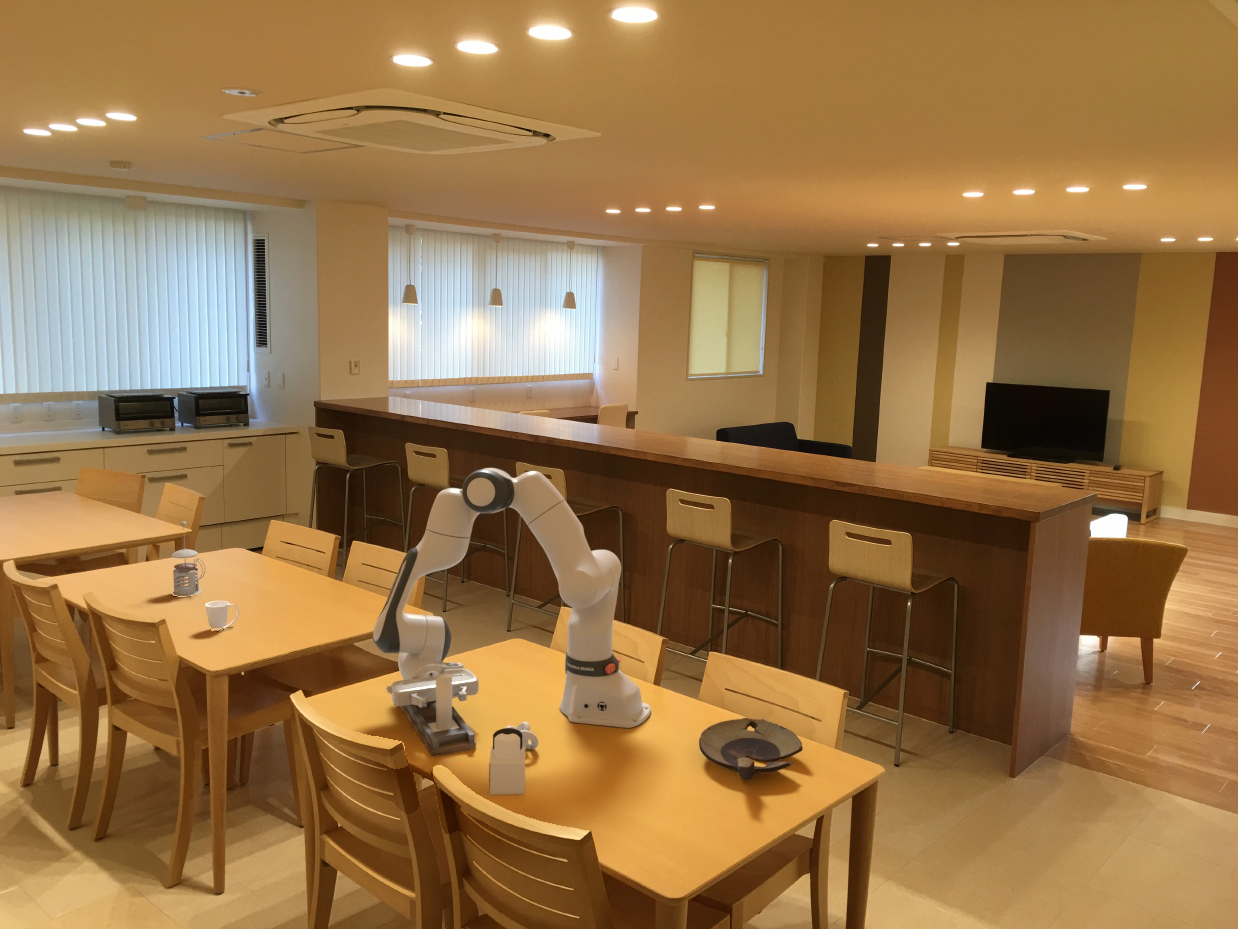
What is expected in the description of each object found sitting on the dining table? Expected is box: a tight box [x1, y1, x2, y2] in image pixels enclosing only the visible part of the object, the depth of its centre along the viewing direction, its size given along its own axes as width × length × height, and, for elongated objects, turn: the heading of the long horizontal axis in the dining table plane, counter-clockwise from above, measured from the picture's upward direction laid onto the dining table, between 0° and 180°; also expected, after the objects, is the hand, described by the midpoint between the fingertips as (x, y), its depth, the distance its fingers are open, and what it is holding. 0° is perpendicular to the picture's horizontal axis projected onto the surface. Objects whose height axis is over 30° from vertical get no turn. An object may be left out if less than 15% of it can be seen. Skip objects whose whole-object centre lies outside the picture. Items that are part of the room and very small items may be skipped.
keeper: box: [428, 674, 459, 732], centre depth 220 cm, size 6×6×13 cm
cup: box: [204, 600, 240, 631], centre depth 293 cm, size 7×10×8 cm
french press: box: [171, 521, 206, 596], centre depth 327 cm, size 10×12×25 cm
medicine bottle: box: [488, 727, 526, 796], centre depth 199 cm, size 7×7×12 cm
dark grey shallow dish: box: [698, 717, 803, 782], centre depth 211 cm, size 22×30×8 cm
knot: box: [505, 721, 539, 751], centre depth 216 cm, size 8×8×6 cm
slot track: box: [399, 701, 477, 757], centre depth 228 cm, size 32×10×4 cm, turn 26°
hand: (443, 701), depth 220 cm, fingers open, 8 cm apart
